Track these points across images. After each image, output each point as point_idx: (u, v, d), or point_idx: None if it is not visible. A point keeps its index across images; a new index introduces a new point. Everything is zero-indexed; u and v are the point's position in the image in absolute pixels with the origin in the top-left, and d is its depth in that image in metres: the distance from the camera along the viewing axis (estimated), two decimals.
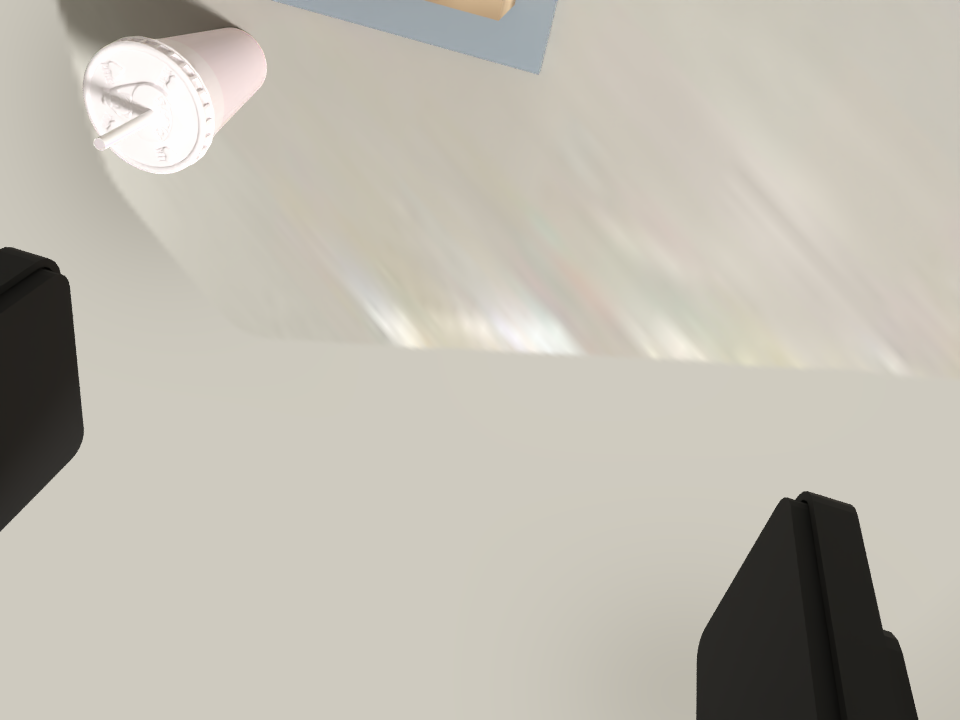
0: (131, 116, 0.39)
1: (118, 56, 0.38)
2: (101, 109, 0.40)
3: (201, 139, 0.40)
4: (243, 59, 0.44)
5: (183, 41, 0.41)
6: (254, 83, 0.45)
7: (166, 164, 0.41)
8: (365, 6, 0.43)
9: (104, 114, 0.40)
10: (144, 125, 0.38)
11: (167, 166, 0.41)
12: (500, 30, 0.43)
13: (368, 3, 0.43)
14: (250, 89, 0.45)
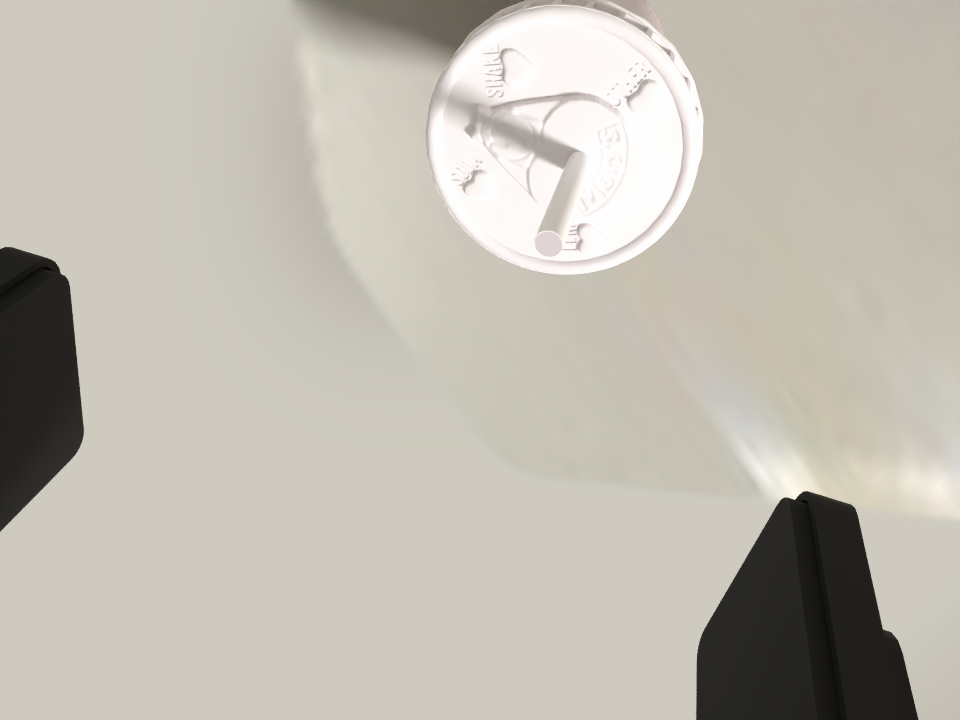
0: (530, 164, 0.19)
1: (531, 38, 0.18)
2: (460, 148, 0.19)
3: (673, 211, 0.19)
4: None
5: None
6: None
7: (577, 257, 0.20)
8: None
9: (465, 157, 0.20)
10: (583, 187, 0.18)
11: (578, 261, 0.20)
12: None
13: None
14: None
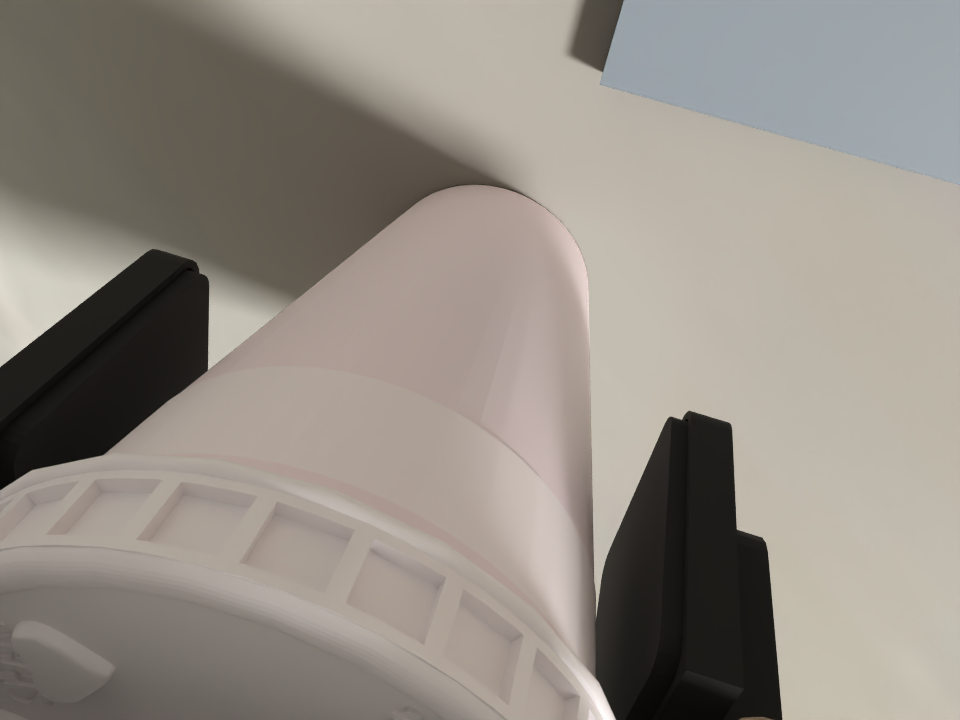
0: None
1: (77, 613, 0.06)
2: None
3: None
4: (581, 341, 0.11)
5: (422, 370, 0.08)
6: None
7: None
8: None
9: None
10: None
11: None
12: None
13: None
14: None
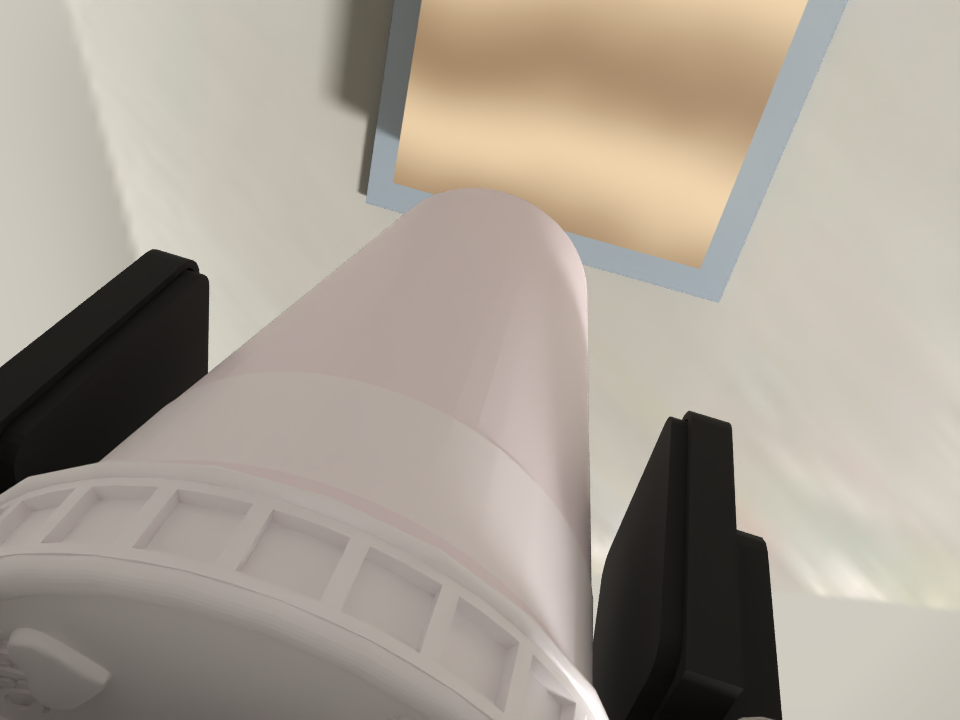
0: None
1: (73, 621, 0.06)
2: None
3: None
4: (579, 344, 0.11)
5: (419, 375, 0.08)
6: None
7: None
8: None
9: None
10: None
11: None
12: None
13: None
14: None
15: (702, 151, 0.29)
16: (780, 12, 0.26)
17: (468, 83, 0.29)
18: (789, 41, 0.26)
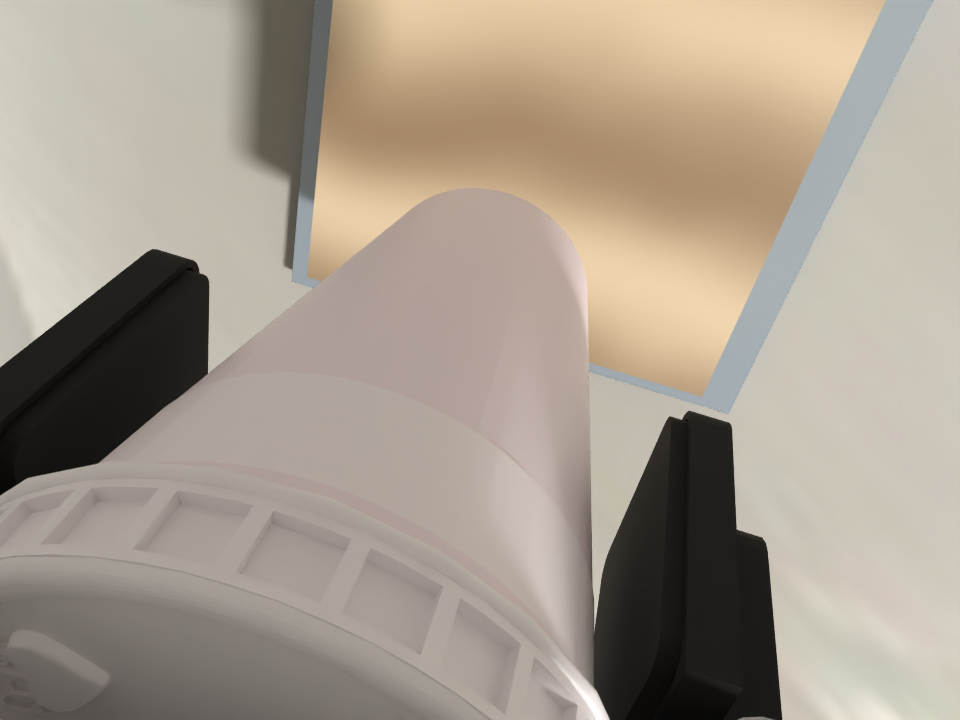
0: None
1: (73, 623, 0.06)
2: None
3: None
4: (579, 345, 0.11)
5: (419, 376, 0.08)
6: None
7: None
8: None
9: None
10: None
11: None
12: None
13: None
14: None
15: (705, 255, 0.21)
16: (816, 79, 0.19)
17: (394, 159, 0.22)
18: (828, 117, 0.19)
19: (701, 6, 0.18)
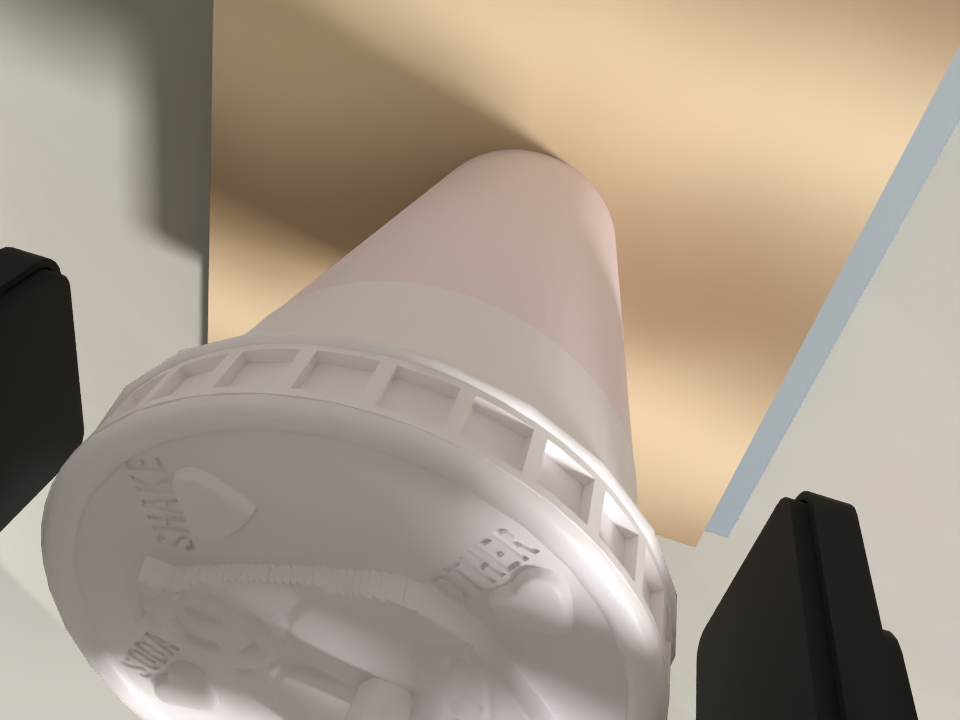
0: (276, 682, 0.08)
1: (233, 455, 0.07)
2: (129, 621, 0.09)
3: None
4: (614, 284, 0.13)
5: (491, 287, 0.09)
6: None
7: None
8: None
9: (143, 637, 0.09)
10: None
11: None
12: None
13: None
14: None
15: (698, 385, 0.17)
16: (845, 177, 0.14)
17: (303, 261, 0.17)
18: (860, 225, 0.14)
19: (691, 81, 0.14)
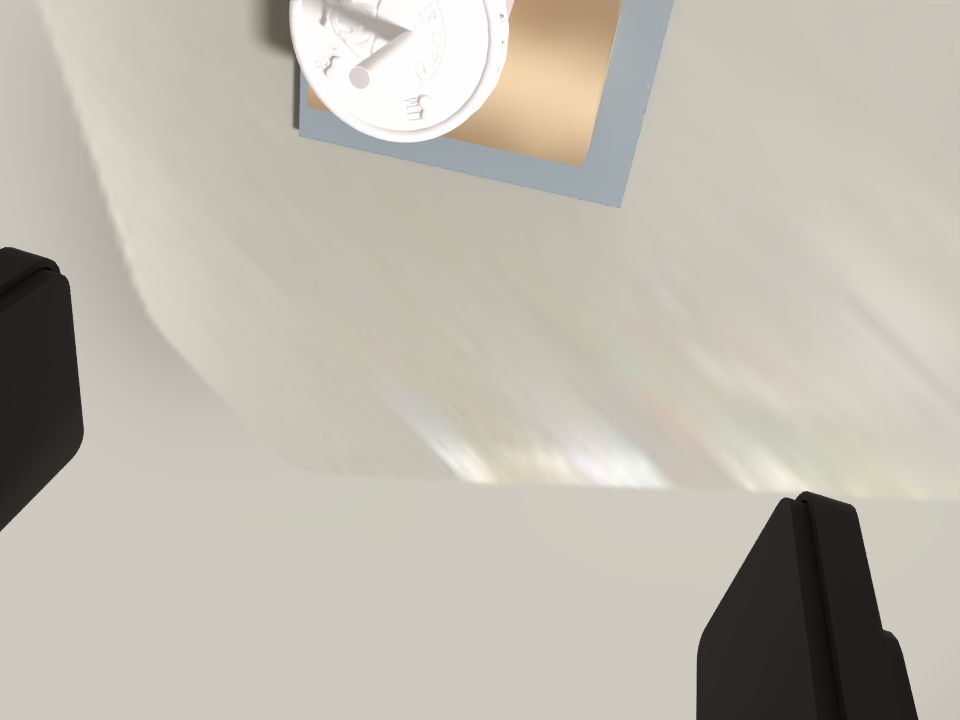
0: (372, 45, 0.24)
1: None
2: (318, 38, 0.24)
3: (489, 77, 0.24)
4: None
5: None
6: None
7: (421, 125, 0.25)
8: (424, 144, 0.40)
9: (322, 45, 0.24)
10: (406, 53, 0.22)
11: (422, 128, 0.25)
12: None
13: (428, 141, 0.39)
14: (509, 14, 0.29)
15: (568, 56, 0.32)
16: None
17: None
18: None
19: None
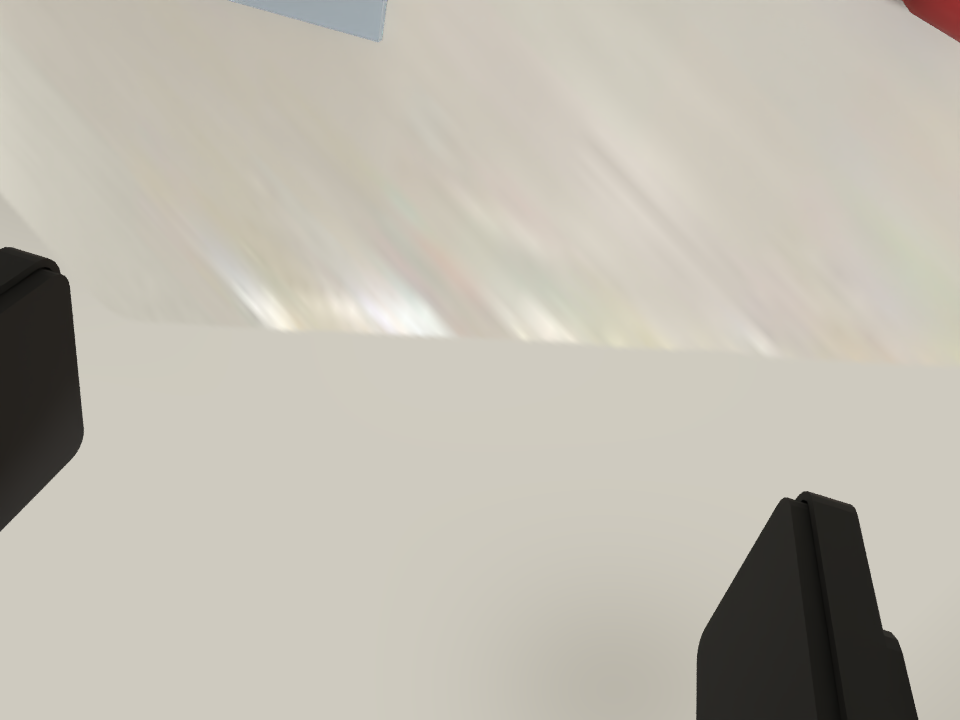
0: None
1: None
2: None
3: None
4: None
5: None
6: None
7: None
8: None
9: None
10: None
11: None
12: None
13: None
14: None
15: None
16: None
17: None
18: None
19: None
